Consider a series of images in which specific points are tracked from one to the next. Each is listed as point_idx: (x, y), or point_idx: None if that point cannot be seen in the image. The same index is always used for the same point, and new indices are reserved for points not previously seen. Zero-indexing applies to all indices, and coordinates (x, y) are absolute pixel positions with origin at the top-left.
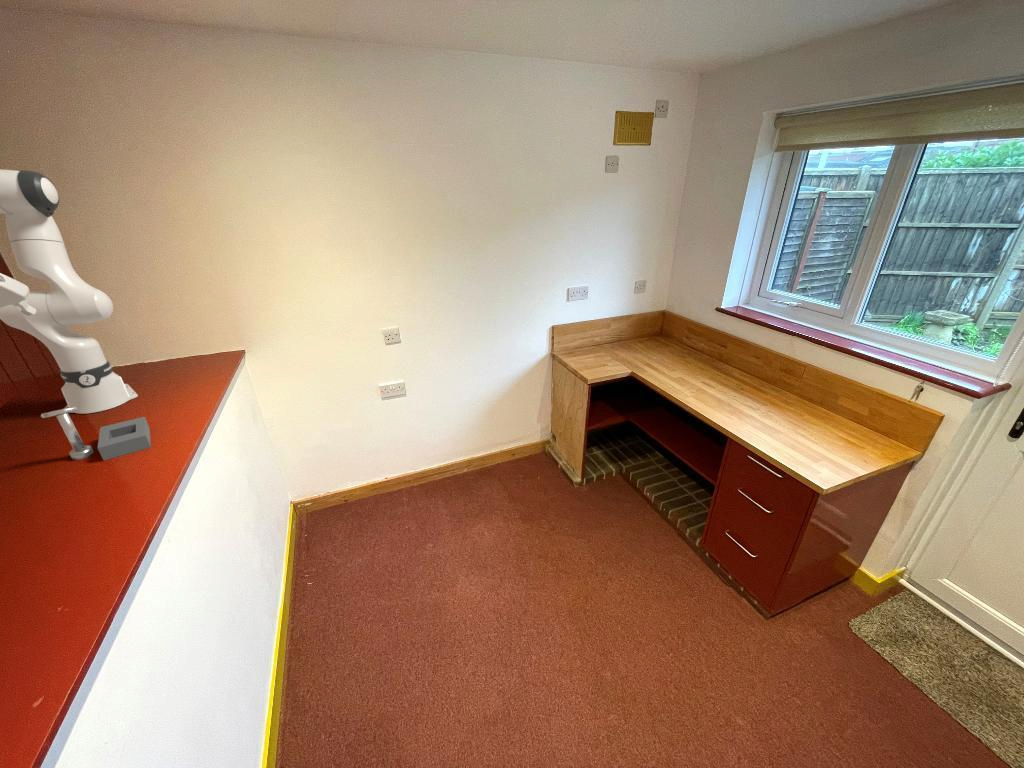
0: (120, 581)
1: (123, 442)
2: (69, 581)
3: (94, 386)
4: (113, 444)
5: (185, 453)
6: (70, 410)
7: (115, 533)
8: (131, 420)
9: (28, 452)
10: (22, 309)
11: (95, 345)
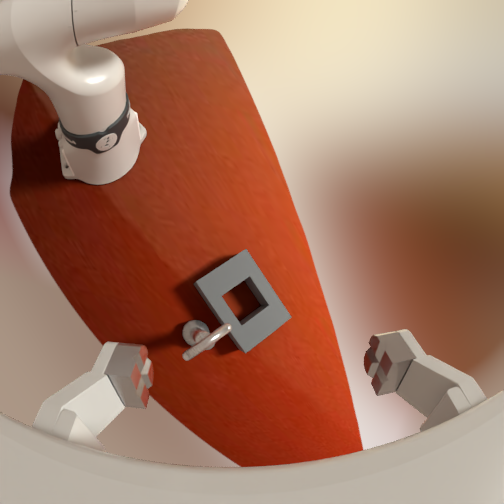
0: None
1: (269, 334)
2: None
3: (113, 147)
4: (260, 341)
5: (332, 331)
6: (222, 336)
7: (340, 452)
8: (232, 260)
9: (99, 309)
10: (409, 400)
11: (123, 73)
